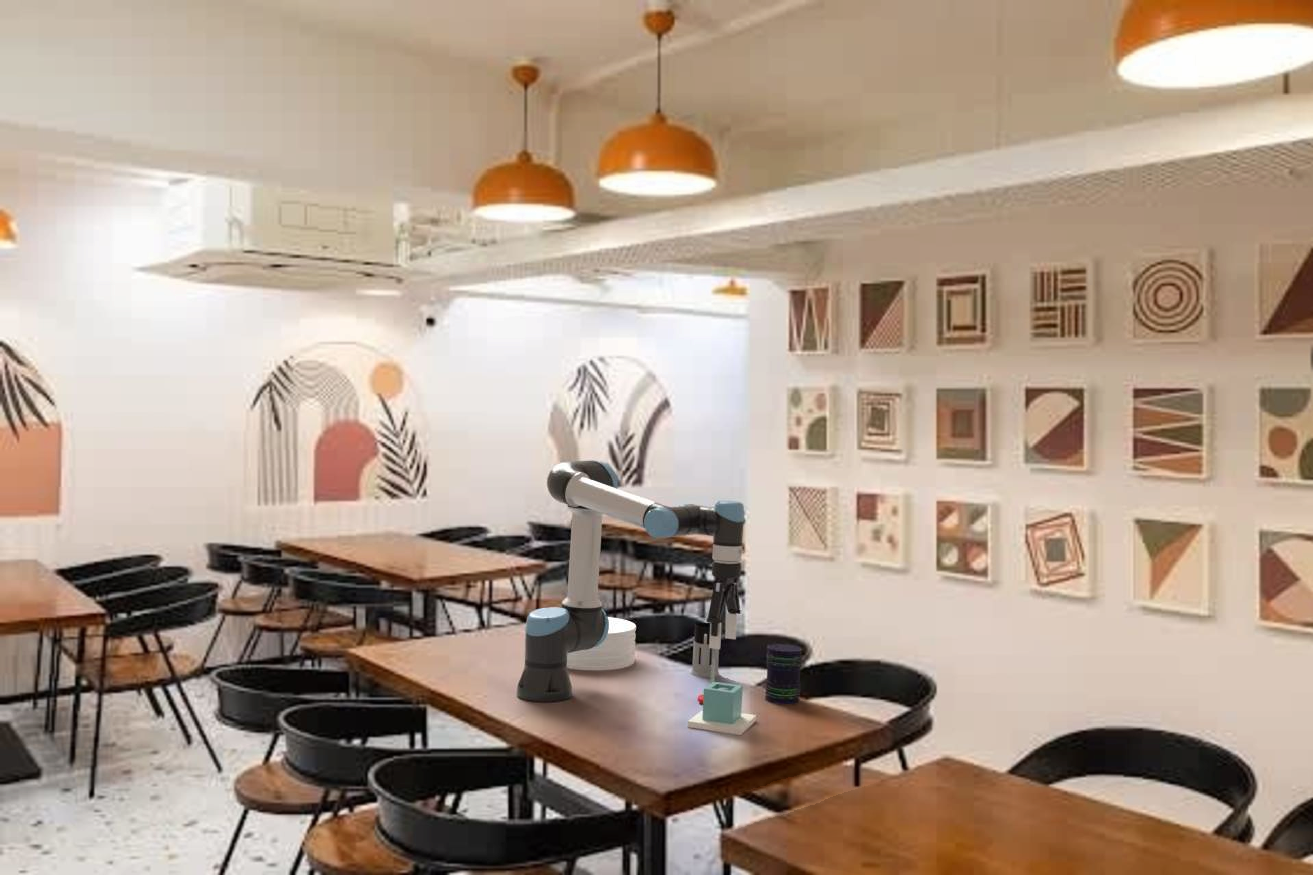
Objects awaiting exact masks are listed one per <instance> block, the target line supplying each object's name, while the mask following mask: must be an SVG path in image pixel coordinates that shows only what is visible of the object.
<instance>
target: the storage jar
mask: <svg viewBox="0 0 1313 875" xmlns="http://www.w3.org/2000/svg"><path fill="white" fill-rule="evenodd" d="M802 651H803V648H802V647H801V646H799V645H797V644H793V643H792V644H789V643H771V644H768V645H767V651H766V653H767V654H766V667H767V669H766V670H767V671H766V679H765V687H764V690H765V691H764V692H765V696H764V700H765V701H766V702H769V703H771V704H774V705H775V704H776V705H786V706H790V705H796V704H799V703H800V697H801V696H800V695H801V694H800V693H801V681H800V678H801V669H802V662H803V660H802V659H803V657H802V654H803V653H802Z"/></svg>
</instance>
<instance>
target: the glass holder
mask: <svg viewBox="0 0 1313 875" xmlns="http://www.w3.org/2000/svg"><path fill="white" fill-rule="evenodd" d="M709 640H710V622H698V623H697V622H696V623H694V638H693V647H692V648H693V649H692V650H693V651H692V652H693V653H692V668H691V672H690V674H691V675H692V676H694V677H698V678H711V665H712V658H715V678H716V677H719V676H720V671H719V658H720V657H719V654H720V649H713V648H709Z"/></svg>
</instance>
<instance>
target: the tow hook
mask: <svg viewBox="0 0 1313 875" xmlns="http://www.w3.org/2000/svg"><path fill="white" fill-rule="evenodd" d="M715 680H716V677H715V658H712V665H711V677H710V679H709V681H710V683H709V685H710V684H711V683H712V682H716V681H715ZM703 695H704V693H703V694H699V695H698V696H697V700H698V704H700V705H701V704H702V705H703Z"/></svg>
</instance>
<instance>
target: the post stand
mask: <svg viewBox="0 0 1313 875" xmlns="http://www.w3.org/2000/svg"><path fill="white" fill-rule="evenodd" d="M718 689H721V690H728V691H730V689H728V688H718ZM702 717H703V709H702V710H700V711H699V712H698V713H697V714H695V715H694V716H693V717H691V718H690V719H689V720H688V721H687V728H690V729H691V728H692V729H697V730H698V729H699V730H703V731H705V730H706V731H711V732H717V733H723V734H731V735H738V736H741V735H743V734H744V733H745V732H746V731H747V730H748V729H749V728H750V727H751V726H752V725H753V724H754V723H755V722H756V721H757V715H756V714H751V713H750V714H749V713H743V712H741V717H740V718H739V719H738V720H737V721H736V722H734V723H733V724H727V723H720V722H714V721H707V720H702Z"/></svg>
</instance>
